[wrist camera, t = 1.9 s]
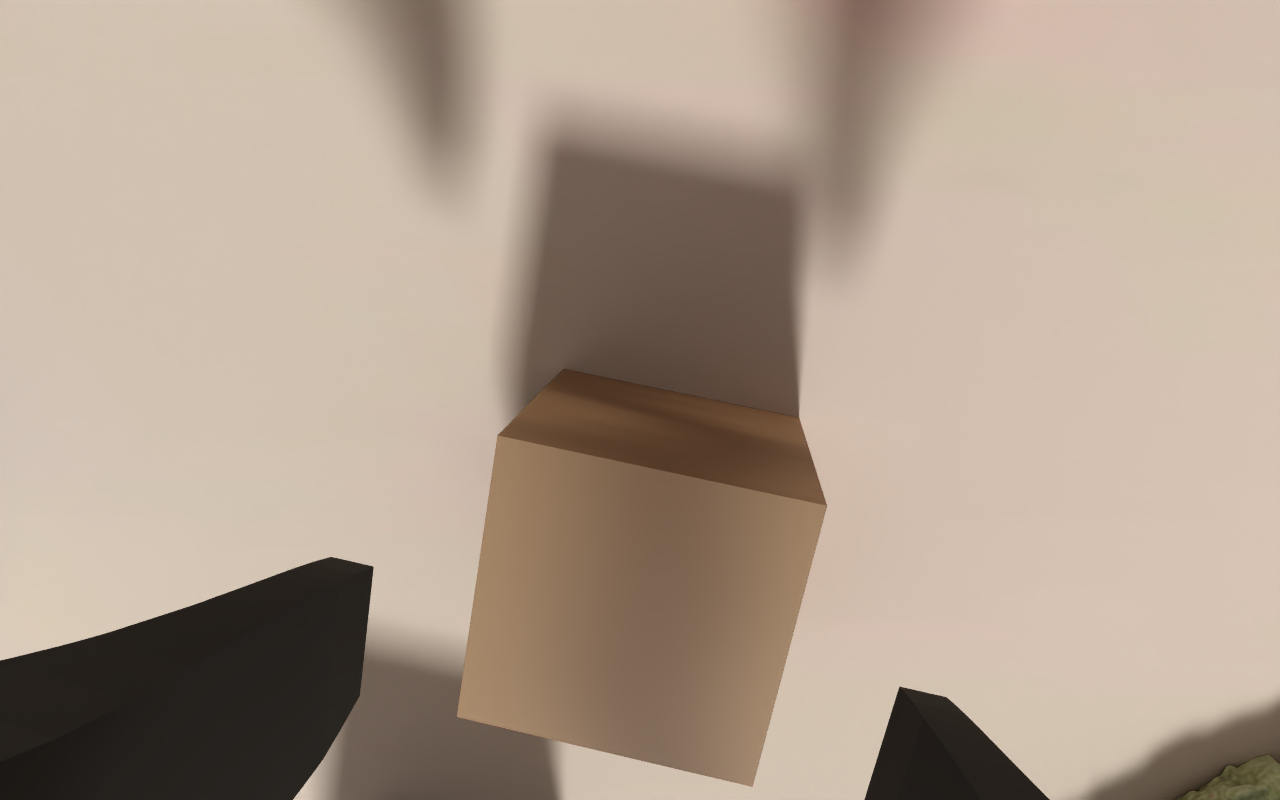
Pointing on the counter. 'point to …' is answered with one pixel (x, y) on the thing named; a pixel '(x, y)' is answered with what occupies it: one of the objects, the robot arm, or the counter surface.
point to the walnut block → (641, 574)
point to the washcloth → (1243, 782)
